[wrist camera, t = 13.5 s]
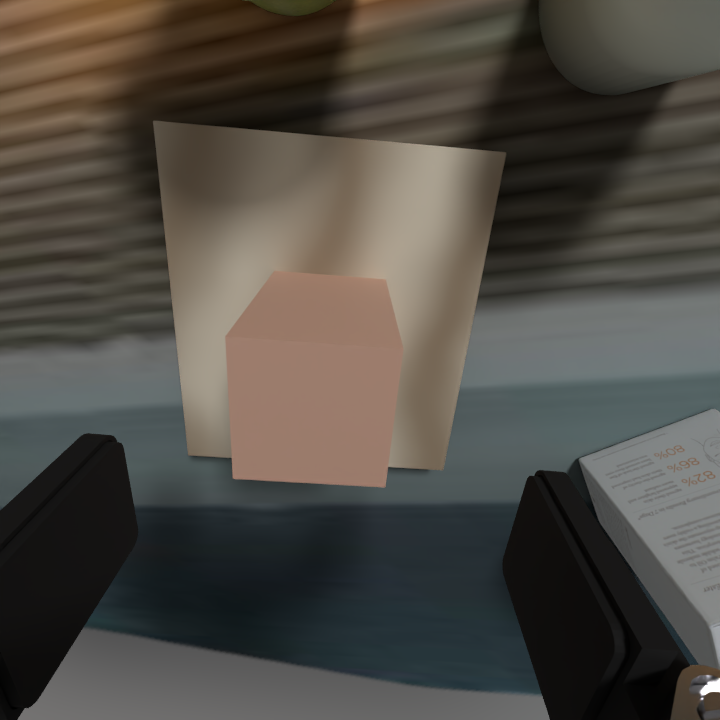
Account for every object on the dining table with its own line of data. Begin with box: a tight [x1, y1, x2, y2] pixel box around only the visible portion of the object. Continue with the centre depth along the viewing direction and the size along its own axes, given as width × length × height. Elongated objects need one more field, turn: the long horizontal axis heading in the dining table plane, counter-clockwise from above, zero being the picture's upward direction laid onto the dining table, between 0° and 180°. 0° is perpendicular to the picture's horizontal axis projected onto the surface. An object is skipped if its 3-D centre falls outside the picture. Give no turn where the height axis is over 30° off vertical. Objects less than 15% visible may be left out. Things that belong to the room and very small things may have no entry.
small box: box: [579, 409, 720, 670], centre depth 21 cm, size 8×6×10 cm
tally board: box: [153, 121, 506, 470], centre depth 21 cm, size 14×16×2 cm
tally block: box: [225, 271, 404, 487], centre depth 17 cm, size 5×5×8 cm
